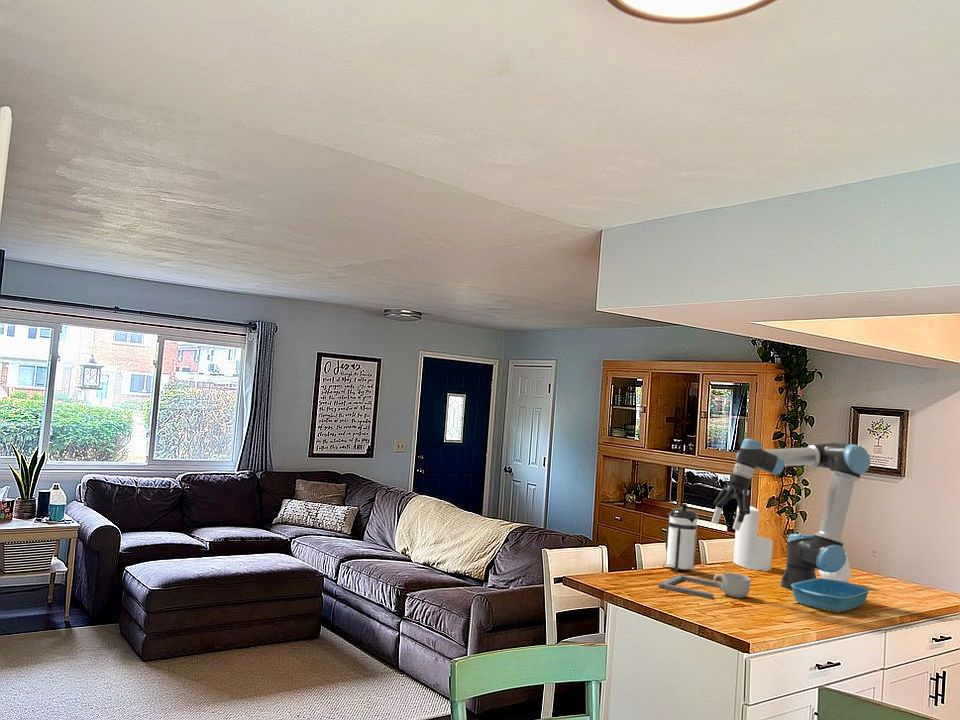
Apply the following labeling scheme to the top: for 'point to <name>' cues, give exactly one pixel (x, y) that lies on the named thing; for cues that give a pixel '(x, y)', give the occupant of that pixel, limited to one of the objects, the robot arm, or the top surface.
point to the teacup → (734, 584)
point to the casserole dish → (829, 594)
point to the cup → (838, 573)
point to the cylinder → (752, 544)
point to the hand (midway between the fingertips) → (724, 526)
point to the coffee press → (681, 538)
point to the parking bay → (669, 585)
